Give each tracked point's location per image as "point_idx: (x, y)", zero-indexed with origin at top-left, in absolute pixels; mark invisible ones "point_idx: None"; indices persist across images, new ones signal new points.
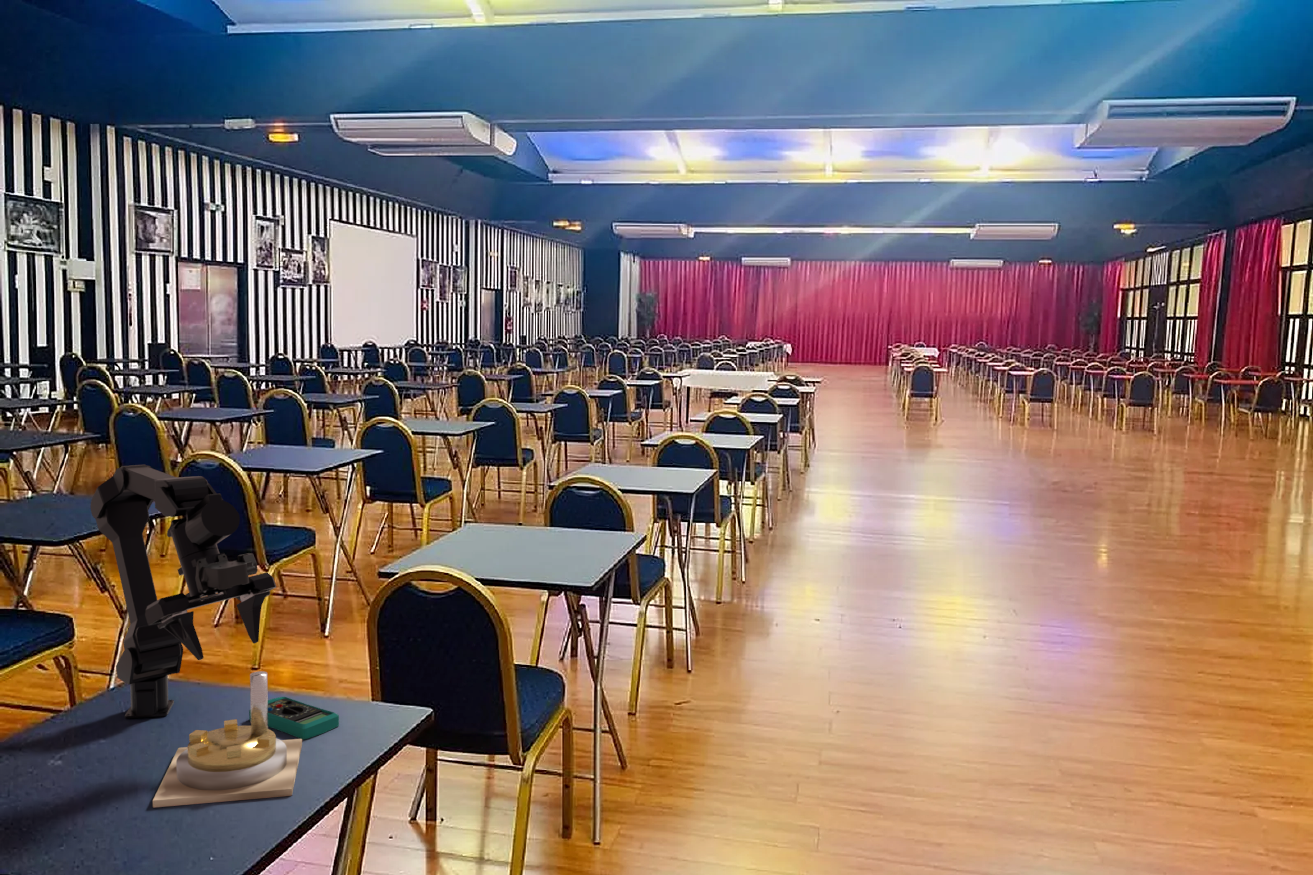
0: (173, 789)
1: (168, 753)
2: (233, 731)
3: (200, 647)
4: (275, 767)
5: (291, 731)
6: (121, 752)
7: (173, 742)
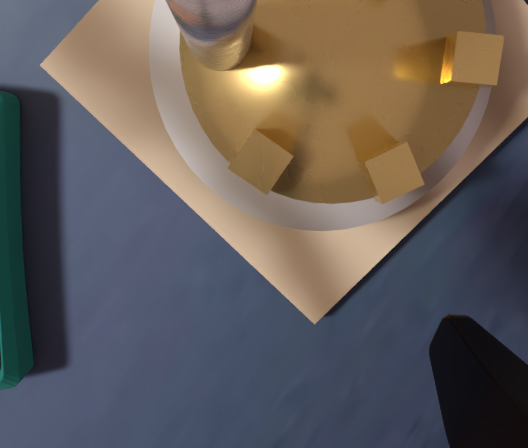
0: (506, 80)
1: (322, 344)
2: (272, 127)
3: (501, 379)
4: None
5: (15, 161)
6: (385, 445)
7: (268, 399)
